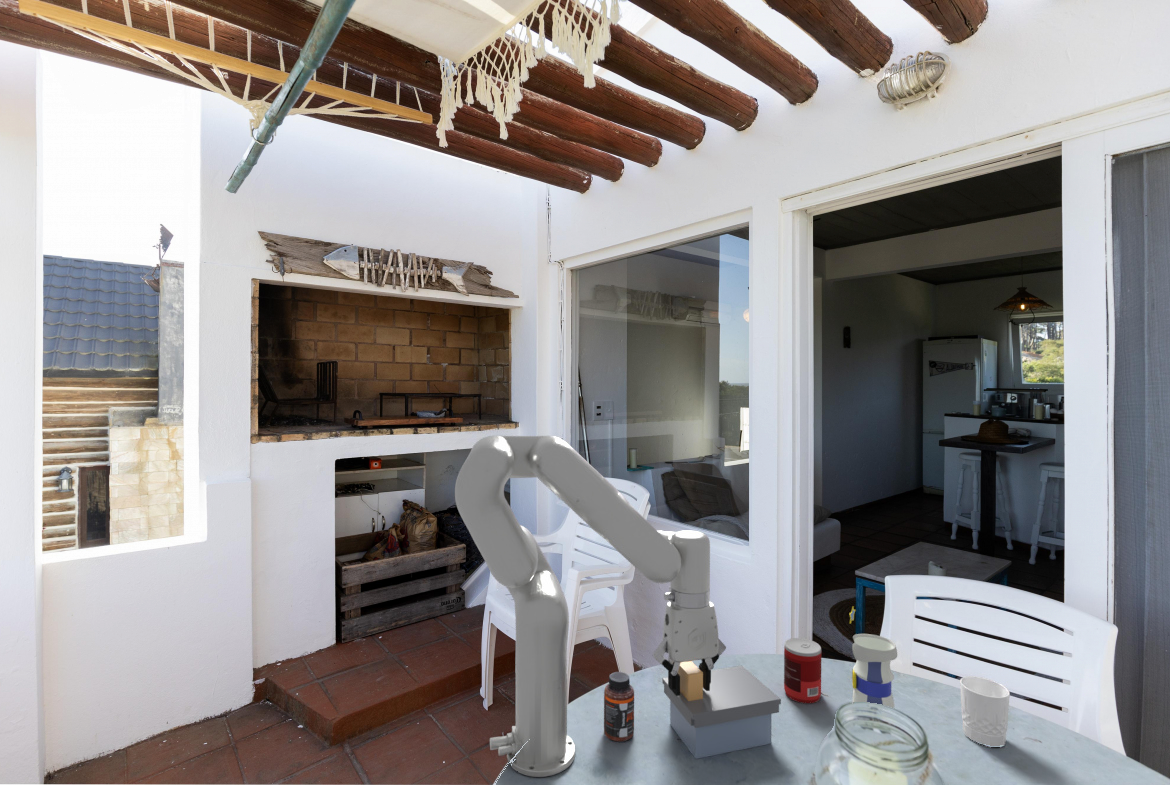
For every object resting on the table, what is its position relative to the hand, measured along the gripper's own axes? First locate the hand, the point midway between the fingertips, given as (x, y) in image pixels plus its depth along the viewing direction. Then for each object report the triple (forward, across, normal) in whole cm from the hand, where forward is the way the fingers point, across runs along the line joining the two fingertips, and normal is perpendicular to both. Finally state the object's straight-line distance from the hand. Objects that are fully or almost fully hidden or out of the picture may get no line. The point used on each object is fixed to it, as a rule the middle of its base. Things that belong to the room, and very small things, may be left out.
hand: (689, 688), depth 109 cm
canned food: (+10, +32, +8) cm, 34 cm away
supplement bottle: (+10, -12, +6) cm, 17 cm away
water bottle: (+10, +34, -10) cm, 37 cm away
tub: (+10, +6, 0) cm, 12 cm away
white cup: (+10, +56, -16) cm, 58 cm away
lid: (+3, +6, 0) cm, 7 cm away
